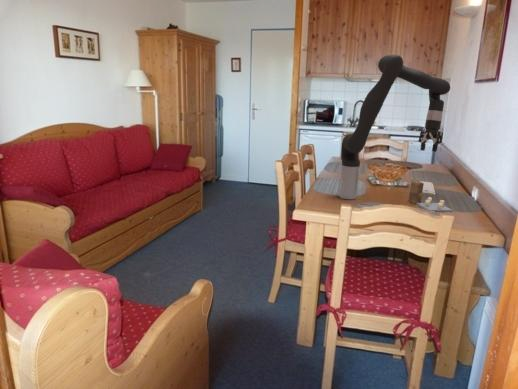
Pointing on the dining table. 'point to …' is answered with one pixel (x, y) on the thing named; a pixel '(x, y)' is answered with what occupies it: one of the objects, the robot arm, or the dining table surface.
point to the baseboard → (428, 188)
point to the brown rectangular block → (416, 192)
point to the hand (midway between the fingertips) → (428, 151)
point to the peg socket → (434, 206)
